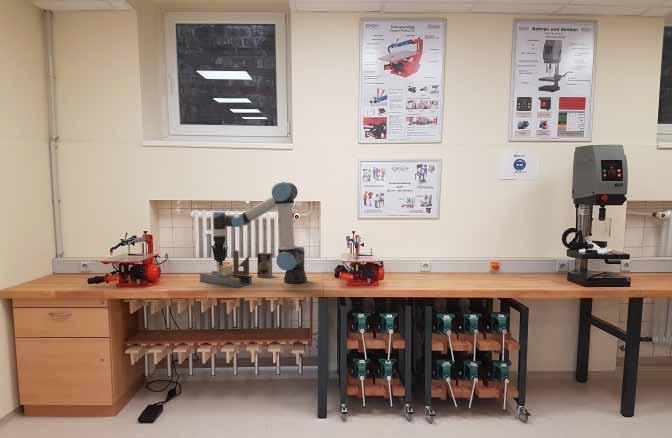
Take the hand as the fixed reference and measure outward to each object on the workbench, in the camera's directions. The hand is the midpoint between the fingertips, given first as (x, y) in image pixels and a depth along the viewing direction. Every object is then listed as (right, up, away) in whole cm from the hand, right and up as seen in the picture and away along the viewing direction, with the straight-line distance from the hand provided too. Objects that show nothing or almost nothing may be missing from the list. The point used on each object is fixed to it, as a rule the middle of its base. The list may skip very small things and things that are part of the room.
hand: (219, 271), depth 239 cm
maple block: (+4, -6, -2) cm, 8 cm away
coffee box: (+26, -6, +19) cm, 33 cm away
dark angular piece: (+9, -6, +18) cm, 21 cm away
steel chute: (+4, -7, -2) cm, 8 cm away
